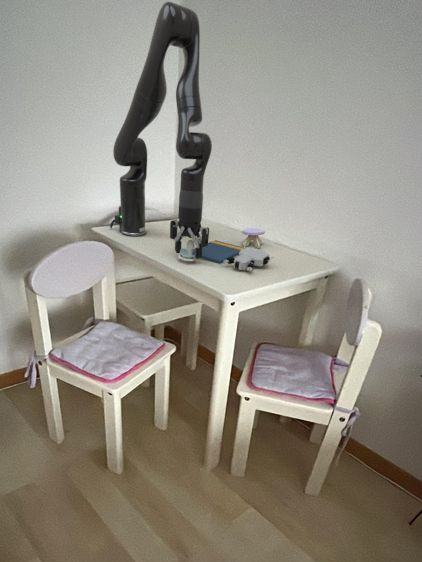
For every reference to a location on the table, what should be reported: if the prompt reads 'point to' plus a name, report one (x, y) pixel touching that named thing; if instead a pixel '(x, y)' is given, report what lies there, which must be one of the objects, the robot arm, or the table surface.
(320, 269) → the table surface
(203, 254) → the blue book
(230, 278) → the table surface
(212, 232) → the table surface
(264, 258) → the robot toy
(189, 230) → the robot arm
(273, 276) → the table surface
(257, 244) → the toy table
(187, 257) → the pacifier
